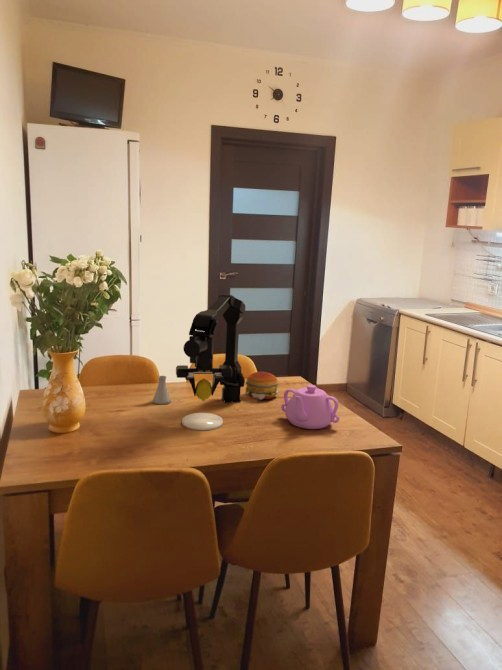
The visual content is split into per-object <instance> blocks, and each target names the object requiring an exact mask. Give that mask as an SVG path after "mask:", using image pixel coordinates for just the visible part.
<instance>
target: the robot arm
mask: <svg viewBox="0 0 502 670" xmlns="http://www.w3.org/2000/svg"><path fill="white" fill-rule="evenodd" d="M245 312H246V305H245V302H244V301H243V300H241V299H239V298H236V297H235V296H234V295H232V294H229V293H228V294H227V293H225V294H224V293H221V294H219V295H218V298H217V299H216V300H215V302H214V301H213V304H212V305H211V306H210V307H209V308H208V309H207V310H201V311H200V312H198V313H196V314H195V316H194V317H193V319H192V322H191V326H190V328H189V331H188V336H189V337H188V338H189V339H188V340H187V341H186V342H185V343H184V344H183V346H182V347H183V352H184V354H185V355H186V356H187V357H188V358H189V364H194V368H193V367H192V368H191V367H189V366H188V364H187V365H185V364H183V365H181V364H180V365H176V367H175V376H176V378H179V379H180V378H181V379H182V378H184V379H185V380H186V381H189V383H190V385H191V389H192V391H193V392H192V393H193V396H194V397H197V395H196V379H195V376H194V375H207V374H210V375H212V382H211V387H212V392H211V395H210V396H213V395H214V394H215V391H216V389H217V387H218V385H220V386H223V387H222V388H221V399H222V400H223V402H224V403H241V402H242V400H241V388H244V387H245V384H246V378H245V377H244V375H243V372H242V366H241V364H240V362H239V360H238V359H239V358H238V356H239V335H240V334H239V332H240V323H241V321H242V320H243V318H244V315H245ZM221 317H222V318H223V320H224V321H225V323H226V326H225V327H226V328H225V329H226V330H225V353H224V355H225V356H224V362H223V363H222V364H219V365H218V367H213V366H214V337H215V336H216V331H217V329H218V327H219V320H220V318H221Z"/></svg>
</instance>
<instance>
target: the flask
mask: <svg viewBox="0 0 502 670" xmlns="http://www.w3.org/2000/svg"><path fill="white" fill-rule="evenodd" d="M157 378H158V383H157V388H156V391H155V393H154V396H153V399H152V403H153V404H155V405H156V404H157V405H168V404H171V403H172V399H171V397H170V394H169V391H168V386H167V383H166V381H167V375H158V376H157Z"/></svg>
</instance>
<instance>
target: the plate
mask: <svg viewBox="0 0 502 670" xmlns="http://www.w3.org/2000/svg"><path fill="white" fill-rule="evenodd" d="M181 423H182V425H183V427H185V428H187V429H189V430H194V431H201V430H202V431H205V432H206V431H213V430H216V429H219V428H221V427H222V426H223V424H224V420H223V418H222V417H221V416H219V415H218V414H215V413H209V412H195V413H191V414H186V415H185V416H184V417H182V421H181Z"/></svg>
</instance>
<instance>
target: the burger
mask: <svg viewBox="0 0 502 670" xmlns="http://www.w3.org/2000/svg"><path fill="white" fill-rule="evenodd" d="M278 384H279V381H278V378H277V377H276V376H275V375H274V374H272V373H270V372H267V371H256V372H253V373H251V374H249V375H248V377H247V378H246V380H245V385H246V387H245V394H247V396H248V397H250V398H252V399H257V400H272V399H273V398H274V399H275V397H276V395H279V391H278V387H279V386H278Z"/></svg>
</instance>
